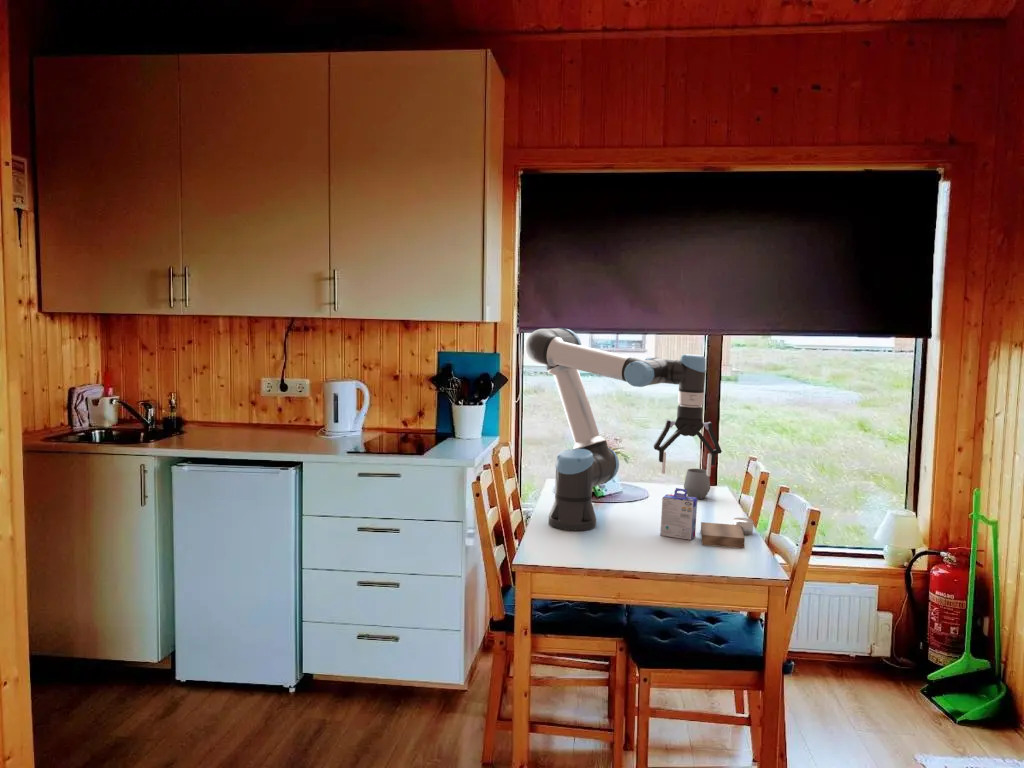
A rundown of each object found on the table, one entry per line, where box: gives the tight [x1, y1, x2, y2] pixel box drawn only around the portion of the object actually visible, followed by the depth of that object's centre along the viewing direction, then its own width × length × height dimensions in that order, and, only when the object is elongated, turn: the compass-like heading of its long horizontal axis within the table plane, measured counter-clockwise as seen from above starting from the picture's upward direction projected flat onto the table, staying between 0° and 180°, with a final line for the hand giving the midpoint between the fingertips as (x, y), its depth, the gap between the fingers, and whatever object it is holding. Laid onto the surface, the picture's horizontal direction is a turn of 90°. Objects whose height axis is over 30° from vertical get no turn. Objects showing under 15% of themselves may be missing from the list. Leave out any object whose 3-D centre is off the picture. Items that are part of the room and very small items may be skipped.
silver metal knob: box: [732, 517, 754, 536], centre depth 252 cm, size 6×6×4 cm
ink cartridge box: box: [659, 487, 698, 541], centre depth 245 cm, size 10×6×14 cm, turn 65°
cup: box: [683, 468, 711, 500], centre depth 295 cm, size 10×9×10 cm
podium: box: [700, 521, 746, 549], centre depth 243 cm, size 12×14×3 cm
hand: (685, 474), depth 246 cm, fingers open, 13 cm apart
